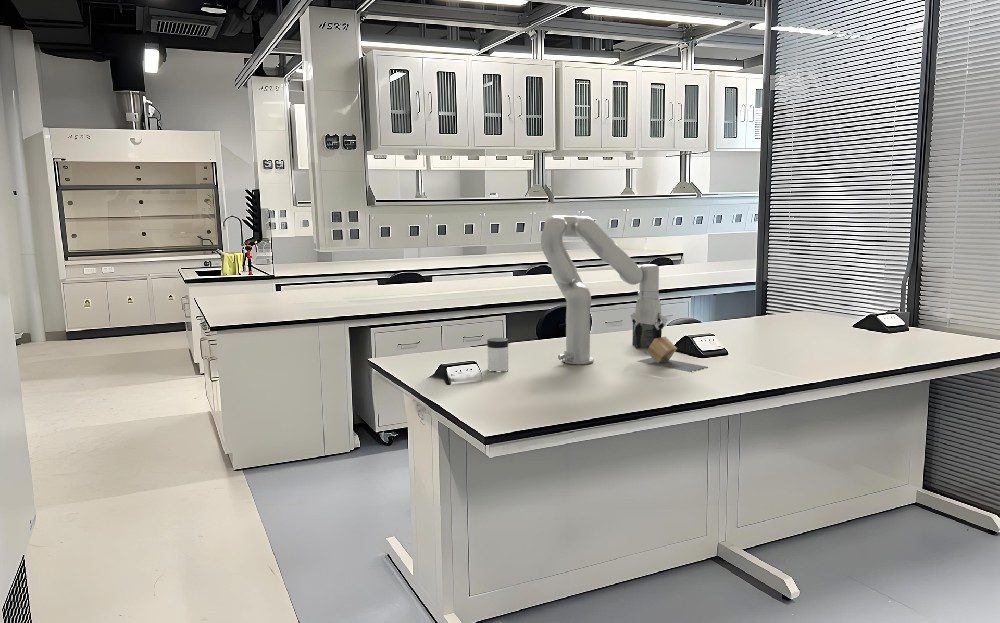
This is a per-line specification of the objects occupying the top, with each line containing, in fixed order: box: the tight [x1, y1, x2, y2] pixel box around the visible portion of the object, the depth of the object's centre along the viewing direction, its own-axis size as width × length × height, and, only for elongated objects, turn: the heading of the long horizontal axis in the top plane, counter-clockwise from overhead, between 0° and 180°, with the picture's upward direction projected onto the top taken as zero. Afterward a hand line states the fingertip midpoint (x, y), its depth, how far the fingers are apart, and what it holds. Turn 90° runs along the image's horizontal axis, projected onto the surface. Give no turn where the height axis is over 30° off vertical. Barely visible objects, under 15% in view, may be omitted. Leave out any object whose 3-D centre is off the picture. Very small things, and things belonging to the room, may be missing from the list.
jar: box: [486, 337, 509, 372], centre depth 268 cm, size 9×8×12 cm
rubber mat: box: [636, 357, 709, 373], centre depth 274 cm, size 12×25×1 cm, turn 40°
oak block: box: [645, 336, 678, 363], centre depth 277 cm, size 7×7×7 cm
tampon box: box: [631, 312, 656, 350], centre depth 308 cm, size 11×9×15 cm
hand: (648, 337), depth 281 cm, fingers open, 9 cm apart
